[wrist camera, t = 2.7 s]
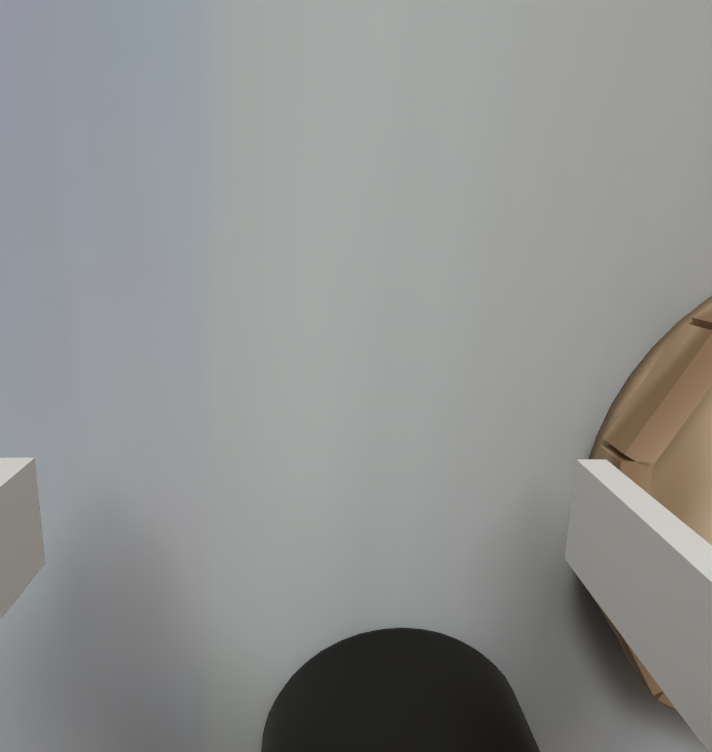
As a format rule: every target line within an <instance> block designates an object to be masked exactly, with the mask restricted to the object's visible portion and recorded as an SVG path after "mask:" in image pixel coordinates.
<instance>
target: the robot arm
mask: <svg viewBox="0 0 712 752" xmlns="http://www.w3.org/2000/svg"><path fill="white" fill-rule="evenodd" d="M565 560H566V561H567V563H568V564H569V565H570V567H571V568H572V569H573V571H574V572H575V573H576V575H577V576H578V577H579V579H580V580H581V581H582V583H583V584H584V585H585V587H586V588H587V590H588V591H589V592H590V594H591V595H592V596H593V598H594V599H595V600H596V602H597V603H598V604H599V606H600V607H601V608H602V610H603V611H604V612H605V614H606V615H607V617H608V618H609V619H610V621H611V622H612V623H613V625H614V626H615V627H616V629H617V630H618V631H619V633H620V634H621V635H622V637H623V638H624V639H625V641H626V642H627V643H628V645H629V646H630V648H631V649H632V650H633V652H634V653H635V654H636V656H637V657H638V658H639V660H640V661H641V662H642V664H643V665H644V666H645V668H646V669H647V670H648V672H649V673H650V675H651V676H652V677H653V679H654V680H655V681H656V683H657V684H658V685H659V687H660V688H661V689H662V691H663V692H664V693H665V695H666V696H667V697H668V699H669V700H670V702H671V703H672V704H673V706H674V707H675V708H676V710H677V711H678V712H679V714H680V715H681V716H682V718H683V719H684V720H685V722H686V723H687V724H688V726H689V727H690V728H691V730H692V731H693V733H694V734H695V735H696V737H697V738H698V739H699V741H700V742H701V743H702V745H703V746H704V747H705V749H706V750H707V751H708V752H712V545H710V544H709V543H708V542H707V541H706V540H704V539H703V538H702V537H701V536H699V535H698V534H697V533H696V532H694V531H693V530H692V529H691V528H690V527H688V526H687V525H686V524H685V523H683V522H682V521H681V520H680V519H679V518H677V517H676V516H675V515H674V514H672V513H671V512H670V511H669V510H668V509H666V508H665V507H664V506H663V505H661V504H660V503H659V502H658V501H656V500H655V499H654V498H653V497H652V496H650V495H649V494H648V493H647V492H645V491H644V490H643V489H642V488H641V487H639V486H638V485H637V484H636V483H634V482H633V481H632V480H631V479H630V478H628V477H627V476H626V475H625V474H623V473H622V472H621V471H620V470H618V469H617V468H616V467H615V466H614V465H612V464H611V463H610V462H609V461H607V460H606V459H576V467H575V476H574V484H573V493H572V501H571V510H570V518H569V526H568V535H567V543H566V552H565ZM44 564H45V556H44V546H43V536H42V526H41V516H40V506H39V496H38V486H37V476H36V466H35V458H0V620H1V618H2V617H3V616H4V615H5V613H6V612H7V611H8V610H9V608H10V607H11V606H12V605H13V603H14V602H15V601H16V599H17V598H18V597H19V596H20V594H21V593H22V592H23V591H24V589H25V588H26V587H27V586H28V584H29V583H30V582H31V580H32V579H33V578H34V577H35V575H36V574H37V573H38V572H39V570H40V569H41V568H42V567H43V565H44Z"/></svg>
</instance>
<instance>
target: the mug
mask: <svg viewBox="0 0 712 752" xmlns="http://www.w3.org/2000/svg"><path fill="white" fill-rule="evenodd" d="M261 752H540V750H539V748H538V746H537V744H536V741H535V739H534V737H533V735H532V732H531V730H530V728H529V726H528V723H527V721H526V719H525V717H524V714H523V712H522V710H521V707H520V705H519V703H518V701H517V698H516V696H515V694H514V692H513V690H512V688H511V686H510V684H509V683H508V681H507V679H506V678H505V676H504V675H503V674H502V673H501V672H500V671H499V669H498V668H497V667H496V666H495V665H494V664H493V663H492V662H491V661H489V660H488V659H487V658H486V657H485V656H483V655H482V654H481V653H480V652H478V651H477V650H475V649H474V648H472V647H470V646H468V645H467V644H465V643H463V642H461V641H459V640H457V639H455V638H452V637H449V636H447V635H444V634H441V633H437V632H432V631H428V630H422V629H411V628H393V629H382V630H376V631H371V632H366V633H362V634H358V635H356V636H353V637H350V638H347V639H345V640H342V641H340V642H338V643H336V644H334V645H332V646H330V647H328V648H326V649H324V650H323V651H321V652H320V653H318V654H317V655H316V656H314V657H313V658H312V659H310V660H309V661H308V662H306V663H305V664H304V665H303V666H302V667H301V668H300V669H299V670H298V671H297V672H296V673H295V674H294V675H293V676H292V677H291V679H290V680H289V681H288V683H287V684H286V685H285V687H284V688H283V690H282V691H281V692H280V694H279V695H278V697H277V699H276V700H275V702H274V704H273V706H272V708H271V710H270V712H269V715H268V718H267V721H266V724H265V728H264V733H263V740H262V750H261Z"/></svg>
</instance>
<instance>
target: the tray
mask: <svg viewBox="0 0 712 752" xmlns="http://www.w3.org/2000/svg"><path fill="white" fill-rule="evenodd" d="M590 459H606V460H607V461H609V462H610V463H611V464H612V465H614V466H615V467H616V468H617V469H618V470H620V471H621V472H622V473H623V474H625V475H626V476H627V477H628V478H630V479H631V480H632V481H633V482H634V483H636V484H637V485H638V486H639V487H641V488H642V489H643V490H644V491H645V492H647V493H648V494H649V495H650V496H652V497H653V498H654V499H655V500H656V501H658V502H659V503H660V504H661V505H663V506H664V507H665V508H666V509H668V510H669V511H670V512H671V513H672V514H674V515H675V516H676V517H677V518H679V519H680V520H681V521H682V522H683V523H685V524H686V525H687V526H688V527H690V528H691V529H692V530H693V531H694V532H696V533H697V534H698V535H699V536H701V537H702V538H703V539H704V540H706V541H707V542H708V543H709V544H710V545H712V297H710V298H709V299H707V300H706V301H704V302H703V303H702V304H701V305H699V306H698V307H697V308H695V309H694V310H693V311H692V312H690V313H689V314H688V315H687V316H685V317H684V318H683V319H681V320H680V321H679V322H678V323H677V324H676V325H675V326H674V327H673V328H672V329H671V330H670V331H669V332H668V333H667V334H666V335H665V336H664V337H663V338H662V339H661V340H660V341H659V342H658V343H657V344H656V345H655V346H653V347H652V349H651V350H650V351H649V352H648V354H647V355H646V356H645V357H644V359H643V360H642V361H641V362H640V364H639V365H638V366H637V367H636V369H635V370H634V371H633V372H632V374H631V375H630V376H629V378H628V379H627V381H626V383H625V384H624V386H623V387H622V389H621V391H620V392H619V394H618V395H617V397H616V399H615V400H614V402H613V403H612V405H611V407H610V409H609V411H608V413H607V416H606V418H605V420H604V422H603V424H602V426H601V428H600V430H599V433H598V435H597V437H596V440H595V443H594V447H593V450H592V453H591V456H590ZM596 603H597V602H596ZM597 605H598V607H599V609H600V611H601V612H602V614H603V616H604V617H605V619H606V621H607V622H608V624H609V626H610V627H611V629H612V630H613V632H614V633H615V634H616V636H617V638H618V640H619V642H620V644H621V646H622V648H623V650H624V652H625V654H626V656H627V658H628V660H629V662H630V664H631V666H632V668H633V669H634V671H635V672H636V673H637V675H638V676H639V677H640V679H641V680H642V681H643V683H644V684H645V686H646V687H647V688H648V690H649V691H650V692H651V694H652V695H653V696H655V698H656V699H657V700H658V701H660V702H662V703H664V704H666V705H667V706H669V707H671V708H673V709H675V710H676V708H675V707H674V706H673V704H672V703H671V702H670V700H669V699H668V697H667V696H666V695H665V693H664V692H663V691H662V689H661V688H660V687H659V685H658V684H657V683H656V681H655V680H654V679H653V677H652V676H651V675H650V673H649V672H648V670H647V669H646V668H645V666H644V665H643V664H642V662H641V661H640V660H639V658H638V657H637V656H636V654H635V653H634V652H633V650H632V649H631V648H630V646H629V645H628V643H627V642H626V641H625V639H624V638H623V637H622V635H621V634H620V633H619V631H618V630H617V629H616V627H615V626H614V625H613V623H612V622H611V621H610V619H609V618H608V617H607V615H606V614H605V612H604V611H603V610H602V608H601V607H600V606H599V604H598V603H597Z"/></svg>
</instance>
